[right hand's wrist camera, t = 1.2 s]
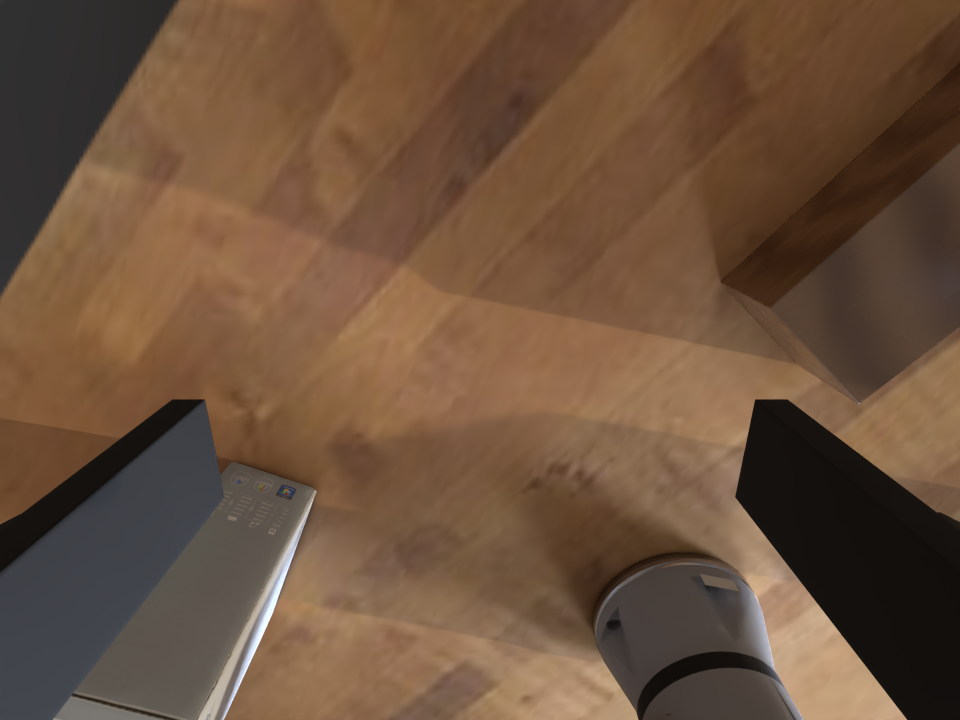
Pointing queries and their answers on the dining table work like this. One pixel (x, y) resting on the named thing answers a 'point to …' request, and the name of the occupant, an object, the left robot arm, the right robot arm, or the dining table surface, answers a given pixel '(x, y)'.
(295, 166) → the dining table surface
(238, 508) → the hard drive box
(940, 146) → the wooden beam
